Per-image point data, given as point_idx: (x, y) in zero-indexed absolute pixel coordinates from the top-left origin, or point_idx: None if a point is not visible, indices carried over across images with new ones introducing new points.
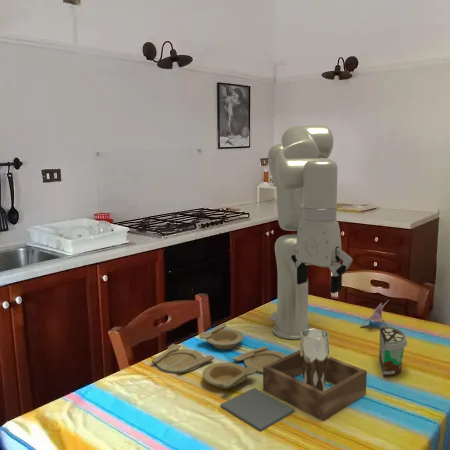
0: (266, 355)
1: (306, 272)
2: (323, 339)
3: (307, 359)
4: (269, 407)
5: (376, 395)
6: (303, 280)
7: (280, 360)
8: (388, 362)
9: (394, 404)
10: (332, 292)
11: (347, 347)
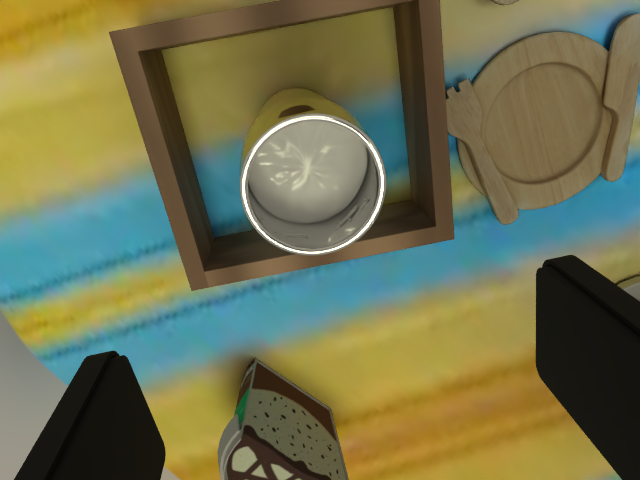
0: (579, 154)
1: (601, 439)
2: (241, 184)
3: (282, 100)
4: None
5: (184, 274)
6: (551, 337)
7: (434, 78)
8: (242, 396)
9: (121, 280)
10: (89, 356)
11: (443, 394)
